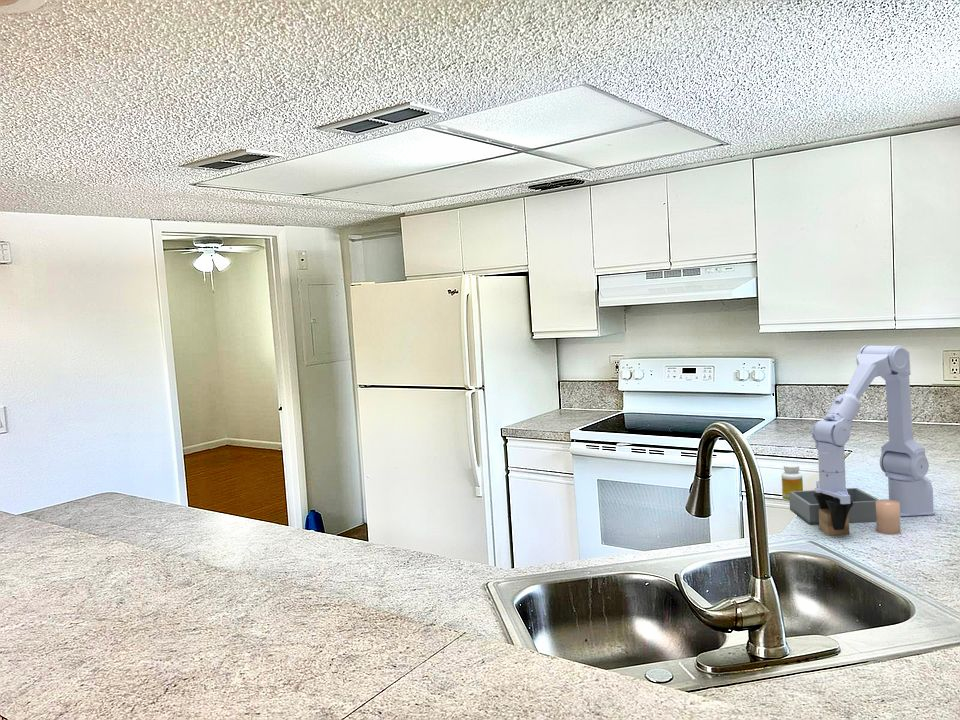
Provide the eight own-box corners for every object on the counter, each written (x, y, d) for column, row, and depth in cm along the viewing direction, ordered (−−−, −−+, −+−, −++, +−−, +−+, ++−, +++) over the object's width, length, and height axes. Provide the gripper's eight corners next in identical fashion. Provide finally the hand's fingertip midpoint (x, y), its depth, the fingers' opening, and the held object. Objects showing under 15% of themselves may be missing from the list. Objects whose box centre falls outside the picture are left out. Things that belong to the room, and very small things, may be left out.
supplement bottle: (805, 502, 207) (803, 467, 206) (784, 502, 208) (783, 467, 207) (801, 497, 212) (799, 463, 212) (780, 497, 213) (779, 463, 213)
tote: (857, 506, 200) (856, 487, 200) (882, 521, 186) (881, 501, 186) (789, 510, 201) (789, 491, 200) (810, 524, 187) (809, 505, 187)
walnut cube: (840, 528, 183) (839, 507, 183) (849, 534, 178) (848, 513, 178) (819, 529, 183) (818, 509, 183) (827, 535, 178) (827, 514, 178)
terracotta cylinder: (893, 527, 181) (892, 498, 181) (904, 533, 176) (903, 504, 176) (872, 528, 181) (871, 499, 181) (882, 534, 176) (881, 505, 176)
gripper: (803, 464, 187) (805, 518, 188) (827, 478, 173) (829, 536, 174) (832, 463, 187) (834, 516, 188) (858, 476, 172) (860, 534, 173)
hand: (833, 525), depth 181 cm, fingers closed on walnut cube, 5 cm apart
